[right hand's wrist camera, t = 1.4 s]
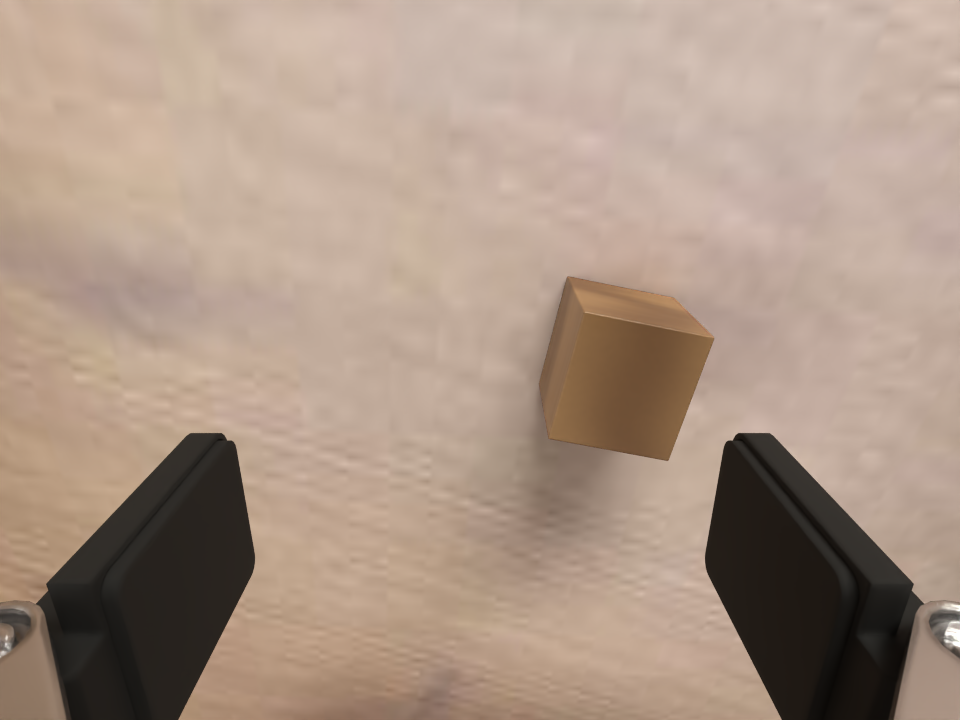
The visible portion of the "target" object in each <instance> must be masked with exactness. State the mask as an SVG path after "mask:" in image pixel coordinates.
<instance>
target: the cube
mask: <svg viewBox="0 0 960 720" xmlns="http://www.w3.org/2000/svg"><path fill="white" fill-rule="evenodd" d="M713 340H714V337H713V336H712V335H711V334H710V333H709V332H708V331H707V330H706V329H705V328H704V327H703V326H702V325H701V324H700V323H699V322H698V321H697V320H696V319H695V318H694V317H693V316H692V315H691V314H690V313H689V312H688V311H687V310H686V309H685V308H684V307H683V306H682V305H681V304H680V303H679V302H678V301H677V300H676V299H675V298H672V297H667V296H662V295H657V294H652V293H647V292H642V291H637V290H632V289H627V288H622V287H617V286H612V285H607V284H603V283H598V282H593V281H588V280H583V279H578V278H573V277H567V279H566V283H565V287H564V291H563V295H562V298H561V302H560V306H559V310H558V314H557V317H556V321H555V325H554V329H553V333H552V336H551V340H550V344H549V348H548V352H547V355H546V359H545V363H544V367H543V371H542V375H541V378H540V382H539V387H540V392H541V398H542V404H543V409H544V415H545V421H546V426H547V432H548V438H549V439H553V440H558V441H564V442H569V443H574V444H580V445H585V446H590V447H596V448H601V449H607V450H612V451H617V452H623V453H628V454H633V455H639V456H644V457H649V458H655V459H660V460H666V461H668V460H669V458H670V455H671V452H672V450H673V447H674V444H675V442H676V439H677V436H678V434H679V431H680V428H681V426H682V423H683V420H684V418H685V415H686V412H687V410H688V407H689V404H690V402H691V399H692V396H693V394H694V391H695V388H696V386H697V383H698V380H699V378H700V375H701V372H702V370H703V367H704V364H705V362H706V359H707V356H708V354H709V351H710V348H711V346H712V343H713Z"/></svg>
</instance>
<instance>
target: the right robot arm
mask: <svg viewBox="0 0 960 720" xmlns="http://www.w3.org/2000/svg"><path fill="white" fill-rule="evenodd" d="M254 564H255V553H254V547H253V541H252V536H251V530H250V524H249V518H248V513H247V507H246V501H245V496H244V490H243V484H242V478H241V473H240V467H239V461H238V455H237V450H236V446H235V444H234V442H233V441H227V439H226V437H225V436H224V435H223V434H222V433H190V434H189V435H187V436H186V437H185V438H184V439H183V440H182V441H181V442H180V444H179V445H178V446H177V447H176V448H175V449H174V450H173V451H172V452H171V453H170V454H169V455H168V456H167V457H166V458H165V459H164V460H163V461H162V462H161V464H160V465H159V466H158V467H157V468H156V469H155V470H154V471H153V472H152V473H151V474H150V475H149V476H148V477H147V478H146V479H145V480H144V481H143V482H142V484H141V485H140V486H139V487H138V488H137V489H136V490H135V491H134V492H133V493H132V494H131V495H130V496H129V497H128V498H127V499H126V500H125V501H124V502H123V504H122V505H121V506H120V507H119V508H118V509H117V510H116V511H115V512H114V513H113V514H112V515H111V516H110V517H109V518H108V519H107V520H106V521H105V523H104V524H103V525H102V526H101V527H100V528H99V529H98V530H97V531H96V532H95V533H94V534H93V535H92V536H91V537H90V538H89V539H88V540H87V541H86V543H85V544H84V545H83V546H82V547H81V548H80V549H79V550H78V551H77V552H76V553H75V554H74V555H73V556H72V557H71V558H70V559H69V560H68V561H67V563H66V564H65V565H64V566H63V567H62V568H61V569H60V570H59V571H58V572H57V573H56V574H55V575H54V576H53V577H52V578H51V579H50V580H49V581H48V583H47V584H46V585H47V588H48V592H47V593H46V594H45V595H44V596H43V597H42V598H41V599H40V600H39V601H38V602H37V603H36V604H34V603H32V602H30V601H16V600H14V601H8V602H1V603H0V720H178V719H179V717H180V715H181V713H182V711H183V709H184V707H185V705H186V703H187V701H188V699H189V697H190V695H191V693H192V691H193V689H194V687H195V685H196V683H197V682H198V680H199V678H200V676H201V674H202V672H203V670H204V668H205V666H206V664H207V662H208V660H209V658H210V656H211V654H212V652H213V650H214V648H215V646H216V644H217V642H218V640H219V638H220V636H221V634H222V632H223V630H224V629H225V627H226V625H227V623H228V621H229V619H230V617H231V615H232V613H233V611H234V609H235V607H236V605H237V603H238V601H239V599H240V597H241V595H242V593H243V591H244V589H245V587H246V585H247V583H248V581H249V579H250V577H251V575H252V573H253V570H254ZM705 564H706V570H707V573H708V575H709V577H710V579H711V581H712V583H713V585H714V587H715V589H716V591H717V593H718V595H719V597H720V599H721V601H722V603H723V605H724V607H725V609H726V611H727V613H728V615H729V617H730V619H731V621H732V623H733V625H734V627H735V629H736V630H737V632H738V634H739V636H740V638H741V640H742V642H743V644H744V646H745V648H746V650H747V652H748V654H749V656H750V658H751V660H752V662H753V664H754V666H755V668H756V670H757V672H758V674H759V676H760V678H761V680H762V682H763V683H764V685H765V687H766V689H767V691H768V693H769V695H770V697H771V699H772V701H773V703H774V705H775V707H776V709H777V711H778V713H779V715H780V717H781V719H782V720H960V603H959V602H952V601H946V600H944V601H930V602H928V603H926V604H924V603H923V602H922V601H921V600H920V599H919V598H918V597H917V596H916V595H915V594H914V593H913V592H912V591H911V590H912V588H913V585H914V584H913V583H912V581H911V580H910V579H909V578H908V577H907V576H906V575H905V574H904V573H903V572H902V571H901V570H900V569H899V568H898V567H897V566H896V565H895V564H894V563H893V561H892V560H891V559H890V558H889V557H888V556H887V555H886V554H885V553H884V552H883V551H882V550H881V549H880V548H879V547H878V546H877V545H876V544H875V543H874V541H873V540H872V539H871V538H870V537H869V536H868V535H867V534H866V533H865V532H864V531H863V530H862V529H861V528H860V527H859V526H858V525H857V524H856V523H855V521H854V520H853V519H852V518H851V517H850V516H849V515H848V514H847V513H846V512H845V511H844V510H843V509H842V508H841V507H840V506H839V505H838V504H837V502H836V501H835V500H834V499H833V498H832V497H831V496H830V495H829V494H828V493H827V492H826V491H825V490H824V489H823V488H822V487H821V486H820V485H819V484H818V482H817V481H816V480H815V479H814V478H813V477H812V476H811V475H810V474H809V473H808V472H807V471H806V470H805V469H804V468H803V467H802V466H801V465H800V464H799V462H798V461H797V460H796V459H795V458H794V457H793V456H792V455H791V454H790V453H789V452H788V451H787V450H786V449H785V448H784V447H783V446H782V445H781V444H780V442H779V441H778V440H777V439H776V438H775V437H774V436H773V435H771V434H770V433H738V434H737V435H736V436H735V437H734V439H733V441H727V442H726V444H725V446H724V450H723V455H722V461H721V467H720V473H719V478H718V484H717V490H716V496H715V501H714V507H713V513H712V518H711V524H710V530H709V536H708V541H707V547H706V553H705Z"/></svg>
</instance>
